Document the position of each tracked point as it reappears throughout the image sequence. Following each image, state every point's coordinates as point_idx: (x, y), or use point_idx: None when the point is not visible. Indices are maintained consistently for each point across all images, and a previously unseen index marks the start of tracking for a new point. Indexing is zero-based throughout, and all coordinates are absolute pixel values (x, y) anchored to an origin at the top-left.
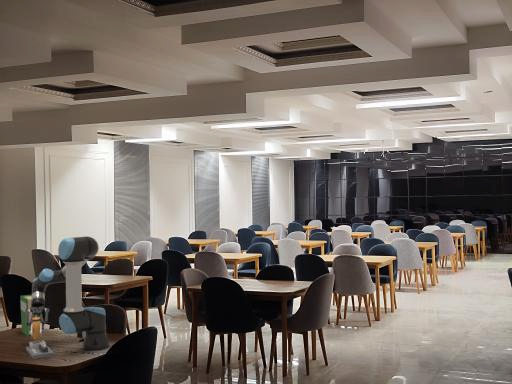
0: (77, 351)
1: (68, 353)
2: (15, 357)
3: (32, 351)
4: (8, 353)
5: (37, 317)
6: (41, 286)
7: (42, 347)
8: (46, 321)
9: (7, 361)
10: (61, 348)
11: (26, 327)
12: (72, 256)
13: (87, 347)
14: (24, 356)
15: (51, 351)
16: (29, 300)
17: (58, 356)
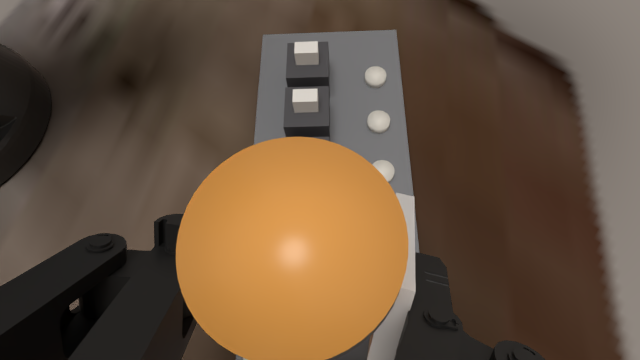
0: (109, 88)
1: (173, 70)
2: (509, 157)
3: (389, 143)
4: (587, 352)
5: (250, 262)
6: None
7: (322, 65)
8: (104, 235)
9: (556, 78)
10: (147, 247)
11: None
12: None
13: (35, 73)
14: (444, 150)
15: (268, 68)
16: None
17: (247, 34)
